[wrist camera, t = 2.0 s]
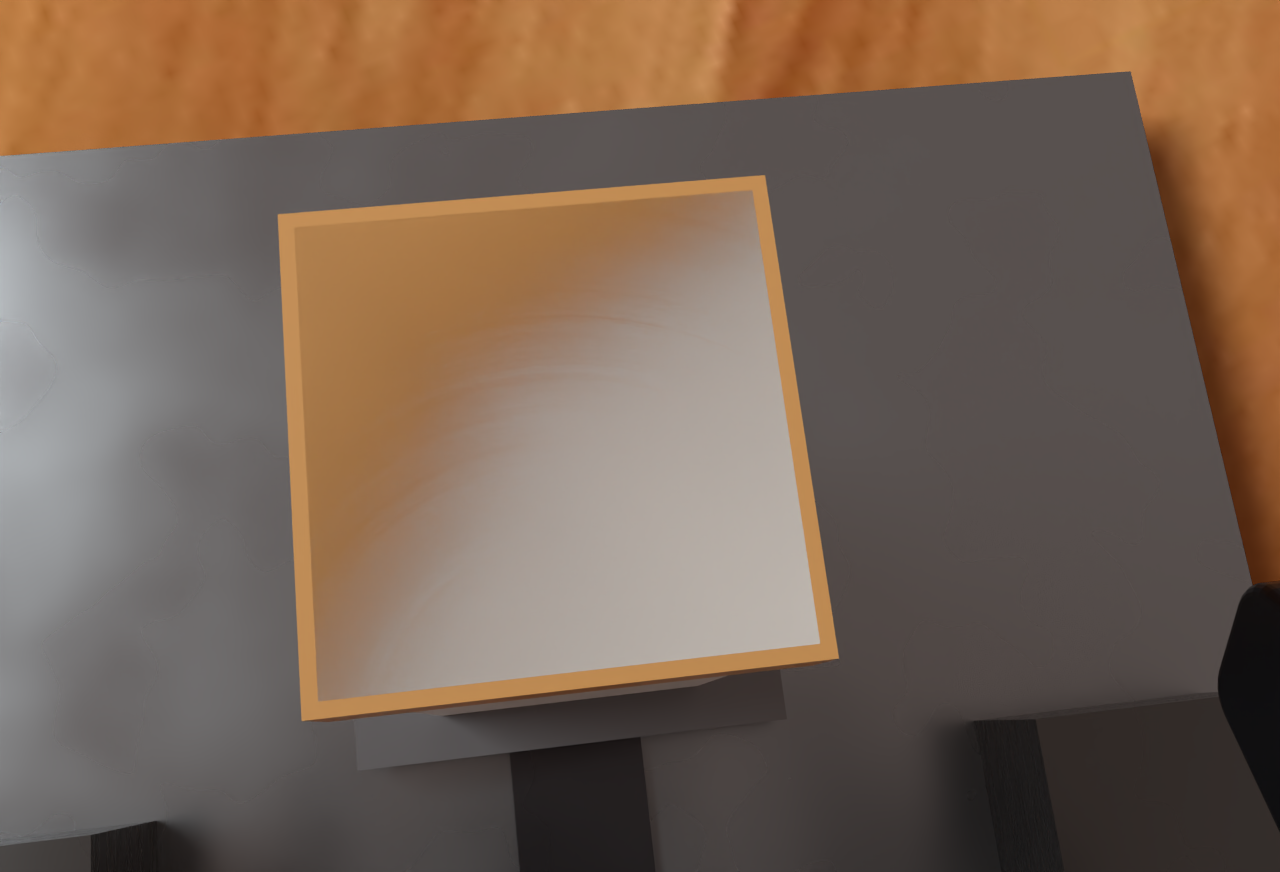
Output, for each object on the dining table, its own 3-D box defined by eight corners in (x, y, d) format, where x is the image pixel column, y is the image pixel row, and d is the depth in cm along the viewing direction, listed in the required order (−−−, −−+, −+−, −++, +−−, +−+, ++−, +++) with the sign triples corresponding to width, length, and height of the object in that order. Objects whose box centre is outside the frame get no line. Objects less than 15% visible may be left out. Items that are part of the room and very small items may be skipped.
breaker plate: (1301, 1164, 16) (1541, 1306, 12) (-120, 1389, 14) (-379, 1637, 10) (1073, 138, 19) (1201, -13, 15) (-85, 230, 18) (-269, 89, 14)
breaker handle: (779, 719, 14) (994, 708, 7) (365, 769, 14) (143, 810, 7) (736, 405, 15) (886, 112, 8) (345, 442, 15) (134, 168, 8)
